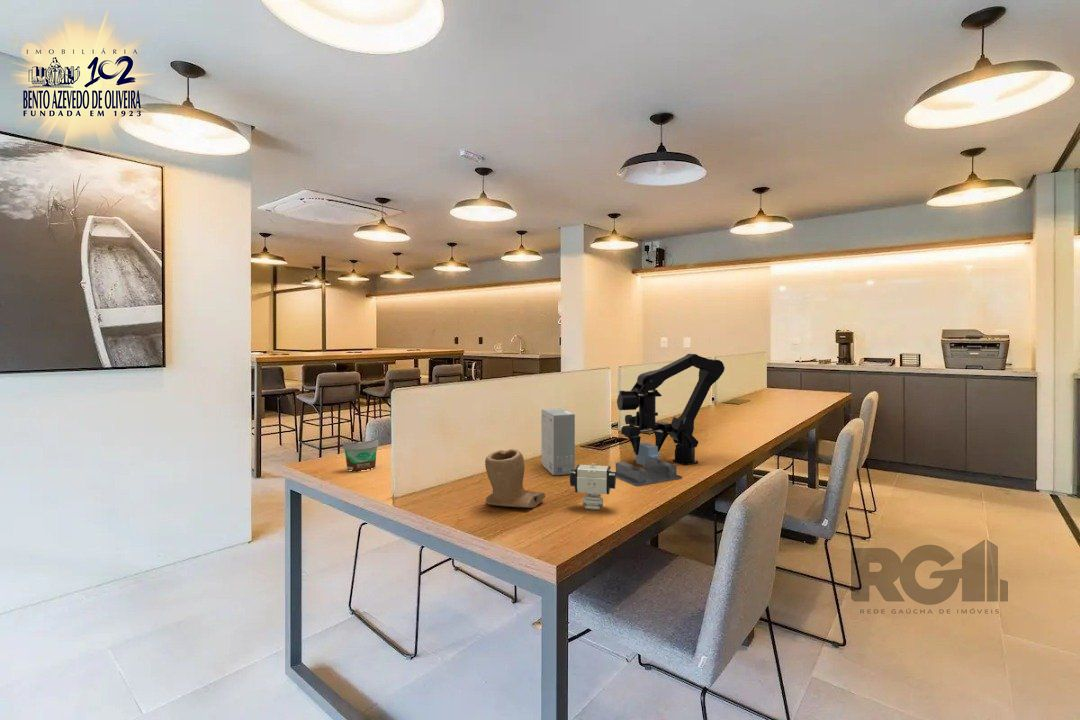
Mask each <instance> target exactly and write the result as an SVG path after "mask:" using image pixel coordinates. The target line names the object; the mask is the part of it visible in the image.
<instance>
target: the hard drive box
mask: <svg viewBox="0 0 1080 720" xmlns="http://www.w3.org/2000/svg"><path fill="white" fill-rule="evenodd" d="M540 414H541V418H540V419H541V430H540V431H541V465H542V466H543V467H544V468H545V469H546V470H547V471H548V472H549V474H551V475H552V476H561V475H563V476H564V475H570V472H571V470H575V468H576V462H575V461H576V460H575V459H576V455H575V454H576V450H575V449H576V448H575V446H576V445H575V443H576V442H575V441H576V440H575V438H576V436H575V435H576V434H575V433H576V432H575V428H576V427H575V423H576V420H575V419H576V414H574V413H573V412H571V411H567V410H565V409H563V408H547V409H544V408H543V409H541V413H540Z"/></svg>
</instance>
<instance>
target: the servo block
mask: <svg viewBox="0 0 1080 720" xmlns="http://www.w3.org/2000/svg"><path fill="white" fill-rule="evenodd" d="M632 453H634V454H635V452H634V449H633V450H632ZM651 457H653V458H655V459H658V460H659V458H662V454H659V452H658V446H656V444H651V443H648V442H640V446H639V453H638V455H636V454H635V463H636V464H638V465H641V466H643V467H645V458H651Z"/></svg>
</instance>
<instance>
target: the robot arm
mask: <svg viewBox="0 0 1080 720" xmlns="http://www.w3.org/2000/svg"><path fill="white" fill-rule="evenodd" d="M691 367H694V368H697V369H699V371H698V379H697V380H698V381H697V383H696V384H695V387H694V388H693V391H692V393H691V395H690V397H689V399H688V401H687V403H686V405H685V407H684V408H683V411H682V413H681V415H680V416H678V417H675V416H674V417H672V419H671V423H669V422H665V421H660V422H659V421H658V422H656V421H657V420H656V418H657V416H659V412H656V411H657V410H656V409H657V408H656V407H657V405H656V401H657V399H656V398H657V397H658V398H659V397H662V396H663V395H662V394H661V393H660V392H659V390H657V389H658V388H659V387H660V386H661V385H662V384H663V383H664V382H665V381H666V380H668V379H670V378H672V377H674V376H675V375H678V374H680V373H682V372H684V371H686V370H687V369H689V368H691ZM725 367H726V366H725V364H724V362H723V361H721V359H713V358H707V357H703V356H701V355H699V354H696V353H687V354H686V355H685V356H683V357H681V358H678V359H677V360H674V361H672V362H671V363H668V364H667V365H664V366H663V367H661V368H658V369H655V370H649V371H646V372H643V373H641V374H639V375H637V379H636V382H635V384H634V385H633V386H632V388H631V389H630V390H619V393H618V396H617V399H616V405H617V410H619V411H635V410H637V409H638V411H636V413H635V416H633V415H632V414H626V415H625V416H624V422H625V423H624V424H625V425H623V426H622V427H621V430H620V434H621V435H624V437H626V438H628V439H629V441H630V443H631V446H632V449H633V450H634V452H635V453H634V452H633V453H634V454H635V456H636V455H638V453H639V446H640V443H641V439H642V438H641V436H640V434H641V433H647V432H653V434H654V437H655V446H658V453H660V450H661V448H662V446H663V445H664V442H665V441H666V439H667V437H668V436H670V438H671V439H672V440H673V444H674V443H675V449H674V459H672V462H675V463H677V464H681V465H692V464H697V463H699V461H697V460H695V458H696V454H695V453H696V448H697V447H698V445H699V441H698V440H697V438H695V436H694V435H693V434H694V431H695V420H696V417H697V415H698V413H699V412H700V410H701V408H702V405H703V403H704V402H705V400H706V397H707V395H708V394H709V391H710V389H711V386H712V385H714V383H716V382H717V381H718V380H719V379H720V378H721V376H722V375H723V374H724V372H725Z"/></svg>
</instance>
